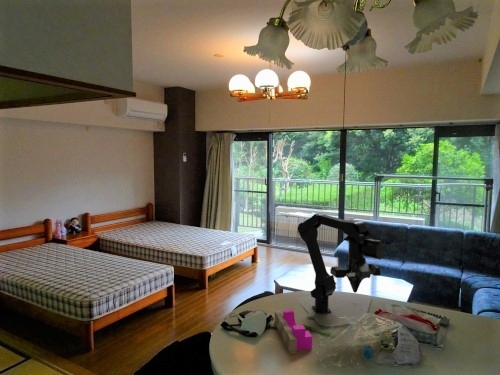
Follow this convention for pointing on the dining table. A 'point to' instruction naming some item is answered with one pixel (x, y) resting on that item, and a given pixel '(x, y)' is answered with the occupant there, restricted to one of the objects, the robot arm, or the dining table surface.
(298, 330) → the toy block
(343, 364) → the dining table surface
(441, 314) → the dining table surface
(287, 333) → the batten
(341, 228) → the robot arm
